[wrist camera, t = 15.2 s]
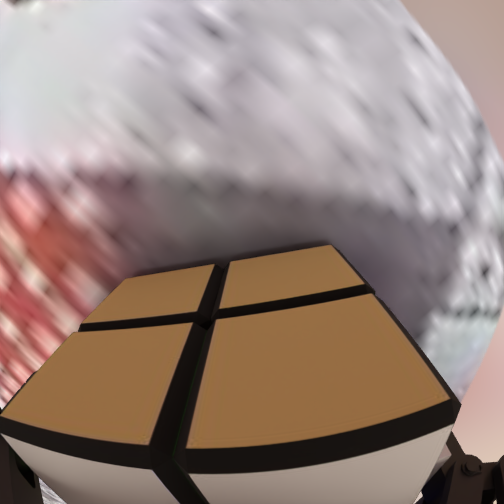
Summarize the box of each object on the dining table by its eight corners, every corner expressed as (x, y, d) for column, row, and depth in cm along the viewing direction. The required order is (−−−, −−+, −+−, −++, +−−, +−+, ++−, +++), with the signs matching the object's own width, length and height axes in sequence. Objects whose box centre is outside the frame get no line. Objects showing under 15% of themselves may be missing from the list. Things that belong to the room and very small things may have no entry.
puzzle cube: (344, 403, 16) (385, 550, 6) (181, 422, 16) (147, 561, 7) (336, 240, 13) (475, 402, 3) (122, 276, 14) (-14, 421, 4)
